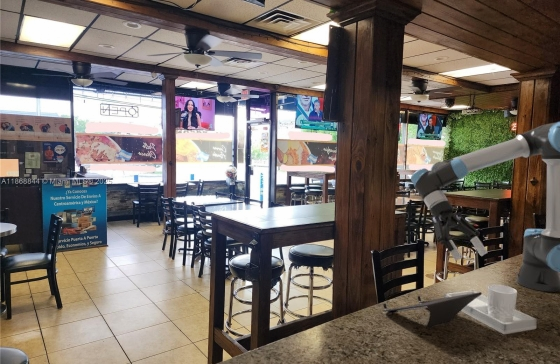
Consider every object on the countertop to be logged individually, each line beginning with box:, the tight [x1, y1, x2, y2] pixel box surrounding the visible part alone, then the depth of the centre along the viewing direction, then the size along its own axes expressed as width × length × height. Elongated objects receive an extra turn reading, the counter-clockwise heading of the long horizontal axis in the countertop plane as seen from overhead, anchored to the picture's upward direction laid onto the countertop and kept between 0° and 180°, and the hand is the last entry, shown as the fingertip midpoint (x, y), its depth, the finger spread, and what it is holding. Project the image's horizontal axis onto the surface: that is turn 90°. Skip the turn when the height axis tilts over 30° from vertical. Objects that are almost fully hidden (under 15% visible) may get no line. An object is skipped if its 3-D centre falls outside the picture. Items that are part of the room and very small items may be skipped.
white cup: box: [486, 283, 518, 323], centre depth 114 cm, size 8×8×10 cm
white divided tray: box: [443, 289, 538, 335], centre depth 120 cm, size 13×24×3 cm, turn 17°
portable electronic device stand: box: [382, 292, 483, 329], centre depth 115 cm, size 23×23×9 cm
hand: (472, 256), depth 125 cm, fingers open, 13 cm apart
